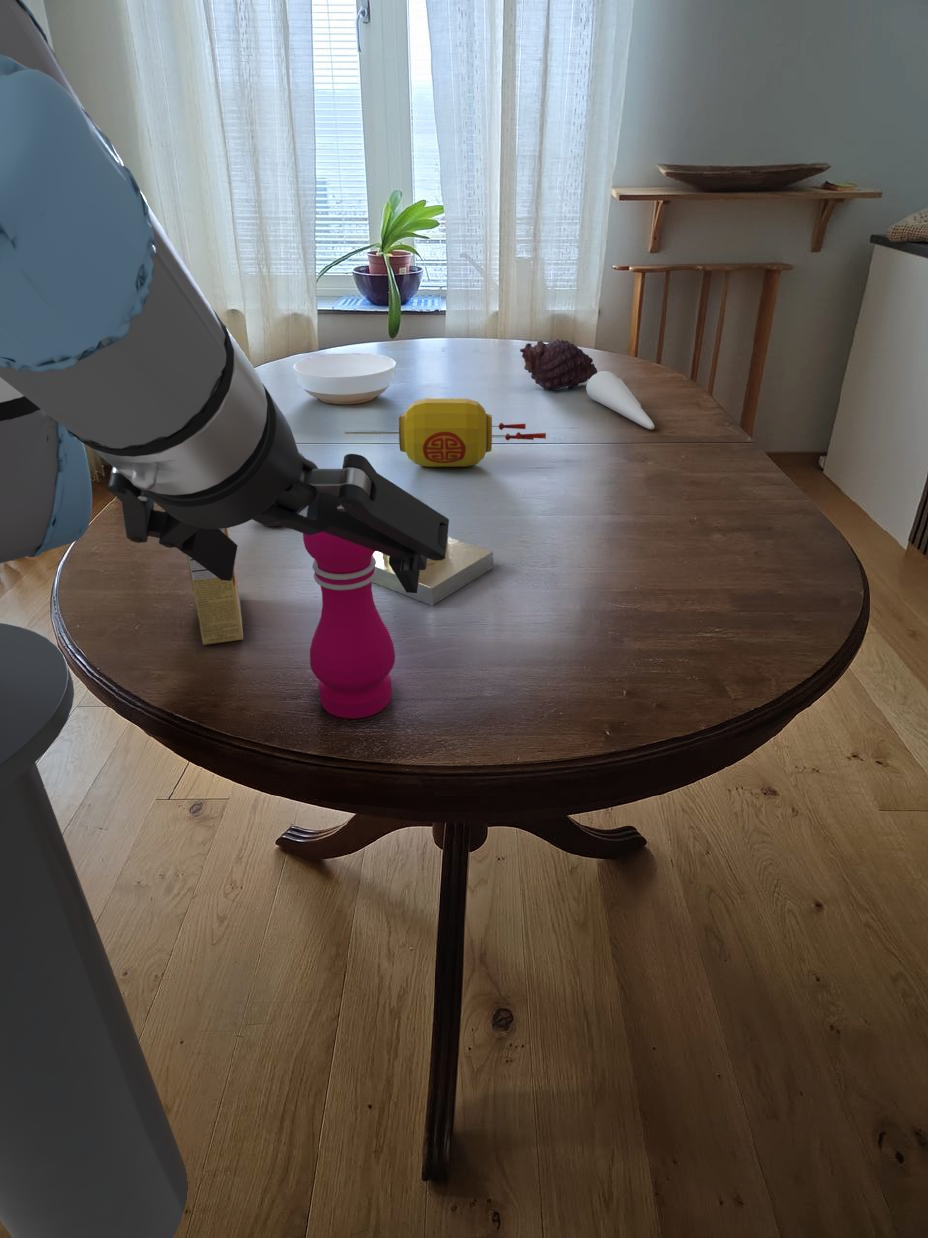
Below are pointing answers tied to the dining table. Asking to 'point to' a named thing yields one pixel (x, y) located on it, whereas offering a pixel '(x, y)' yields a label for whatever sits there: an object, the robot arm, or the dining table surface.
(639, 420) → the long cone
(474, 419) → the lantern
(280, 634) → the dining table surface
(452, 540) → the control block
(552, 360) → the pine cone
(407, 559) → the robot arm
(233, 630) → the candy box
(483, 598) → the dining table surface
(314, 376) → the bowl
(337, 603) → the pepper mill
